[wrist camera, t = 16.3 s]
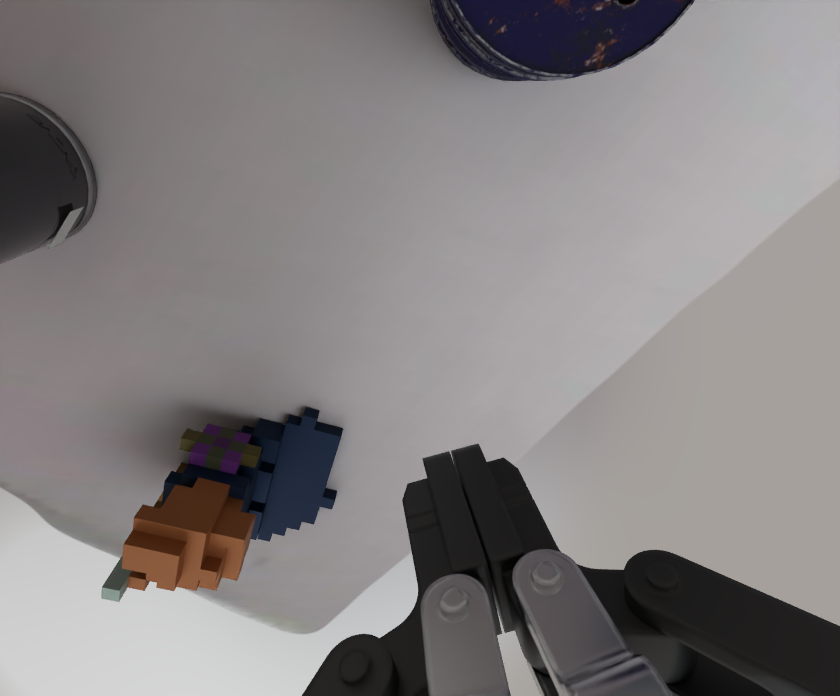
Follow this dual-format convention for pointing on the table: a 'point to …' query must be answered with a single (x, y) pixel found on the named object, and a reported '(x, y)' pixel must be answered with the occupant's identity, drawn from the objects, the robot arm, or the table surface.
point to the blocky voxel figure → (227, 503)
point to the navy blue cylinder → (551, 34)
